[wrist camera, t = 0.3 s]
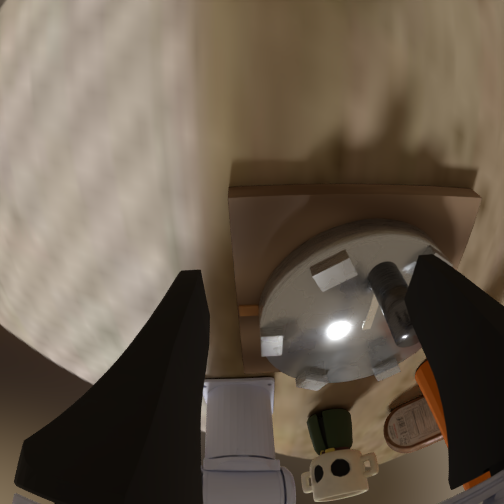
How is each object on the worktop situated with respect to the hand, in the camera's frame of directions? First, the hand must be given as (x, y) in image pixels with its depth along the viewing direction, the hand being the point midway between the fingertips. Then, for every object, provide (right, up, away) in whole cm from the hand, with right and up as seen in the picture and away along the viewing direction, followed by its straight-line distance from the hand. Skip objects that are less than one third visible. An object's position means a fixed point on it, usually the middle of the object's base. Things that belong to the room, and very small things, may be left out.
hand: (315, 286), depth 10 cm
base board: (+6, -2, +14) cm, 15 cm away
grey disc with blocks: (+6, -3, +13) cm, 14 cm away
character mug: (+9, -22, +29) cm, 37 cm away
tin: (+25, -22, +30) cm, 44 cm away
